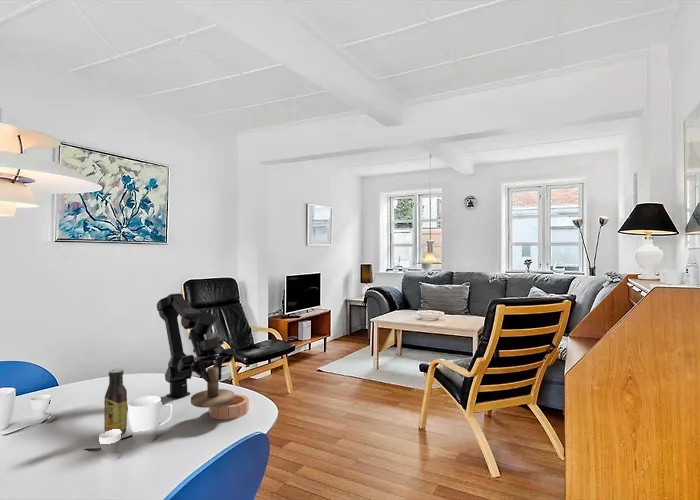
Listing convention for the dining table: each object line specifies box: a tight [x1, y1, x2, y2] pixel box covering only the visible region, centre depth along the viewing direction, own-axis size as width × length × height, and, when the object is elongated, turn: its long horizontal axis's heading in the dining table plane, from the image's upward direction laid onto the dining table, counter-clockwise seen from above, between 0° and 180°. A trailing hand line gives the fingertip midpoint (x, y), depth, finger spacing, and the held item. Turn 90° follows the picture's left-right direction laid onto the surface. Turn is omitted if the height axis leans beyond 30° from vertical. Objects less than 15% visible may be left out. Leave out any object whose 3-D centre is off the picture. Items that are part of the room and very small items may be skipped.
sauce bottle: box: [103, 368, 128, 435], centre depth 134 cm, size 7×6×20 cm
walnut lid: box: [190, 366, 236, 409], centre depth 144 cm, size 14×14×10 cm
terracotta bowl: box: [208, 393, 250, 420], centre depth 150 cm, size 13×13×4 cm
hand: (214, 380), depth 143 cm, fingers closed on walnut lid, 4 cm apart
